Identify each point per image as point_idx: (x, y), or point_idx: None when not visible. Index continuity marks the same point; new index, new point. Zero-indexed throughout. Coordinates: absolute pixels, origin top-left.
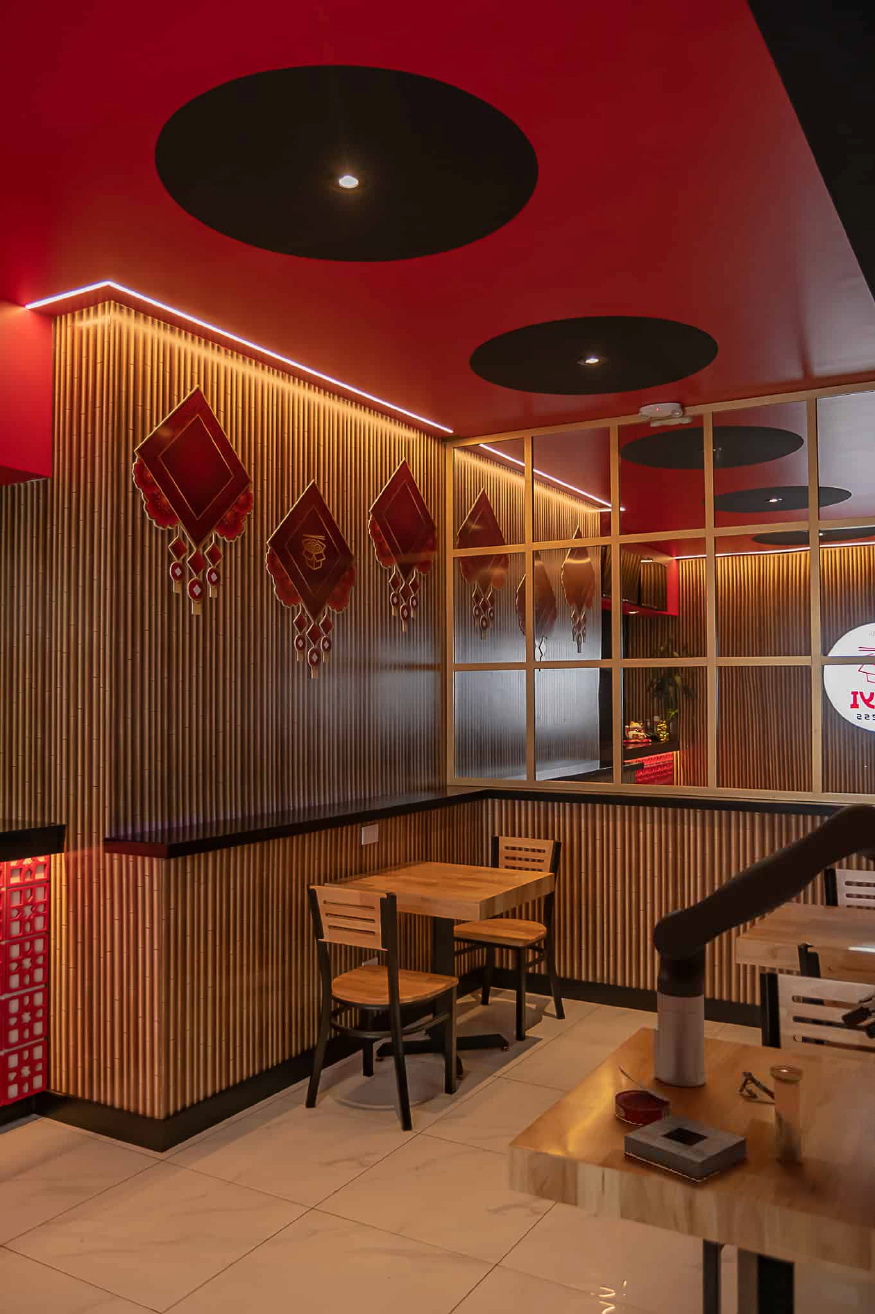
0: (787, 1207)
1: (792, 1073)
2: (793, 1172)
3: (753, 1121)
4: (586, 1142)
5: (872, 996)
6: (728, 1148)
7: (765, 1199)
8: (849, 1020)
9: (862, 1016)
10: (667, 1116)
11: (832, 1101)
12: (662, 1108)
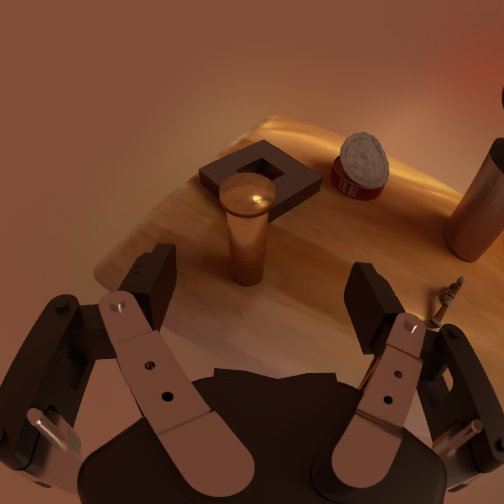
0: (139, 230)
1: (227, 192)
2: (211, 264)
3: None
4: (287, 139)
5: (469, 379)
6: None
7: (158, 219)
8: (355, 288)
9: (367, 331)
10: (314, 172)
11: None
12: (341, 176)
